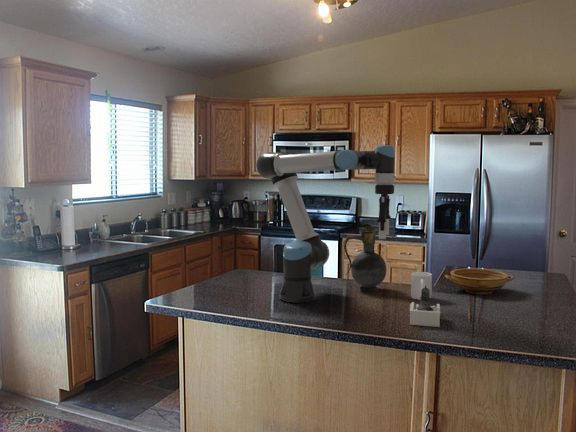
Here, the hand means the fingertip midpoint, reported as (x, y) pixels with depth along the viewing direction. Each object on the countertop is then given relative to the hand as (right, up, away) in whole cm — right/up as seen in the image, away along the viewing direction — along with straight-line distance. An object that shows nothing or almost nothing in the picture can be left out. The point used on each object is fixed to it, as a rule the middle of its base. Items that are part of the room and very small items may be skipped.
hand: (384, 236), depth 211 cm
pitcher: (-4, -25, +23) cm, 34 cm away
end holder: (+10, -29, -25) cm, 40 cm away
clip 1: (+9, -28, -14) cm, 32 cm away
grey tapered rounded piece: (+10, -29, -24) cm, 39 cm away
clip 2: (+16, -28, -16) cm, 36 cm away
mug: (+17, -26, +6) cm, 32 cm away
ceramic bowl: (+45, -25, +20) cm, 56 cm away
